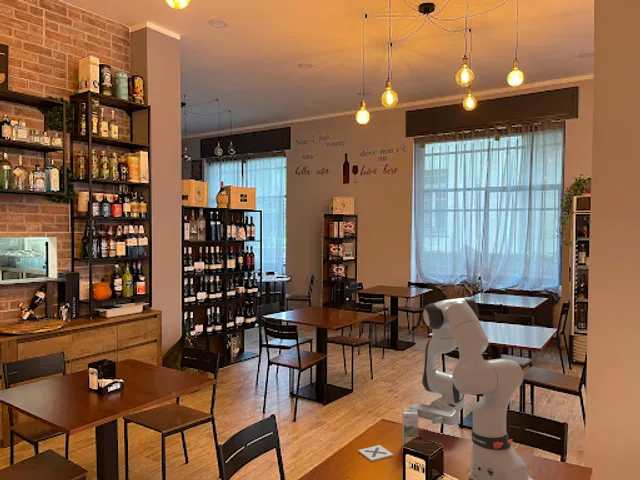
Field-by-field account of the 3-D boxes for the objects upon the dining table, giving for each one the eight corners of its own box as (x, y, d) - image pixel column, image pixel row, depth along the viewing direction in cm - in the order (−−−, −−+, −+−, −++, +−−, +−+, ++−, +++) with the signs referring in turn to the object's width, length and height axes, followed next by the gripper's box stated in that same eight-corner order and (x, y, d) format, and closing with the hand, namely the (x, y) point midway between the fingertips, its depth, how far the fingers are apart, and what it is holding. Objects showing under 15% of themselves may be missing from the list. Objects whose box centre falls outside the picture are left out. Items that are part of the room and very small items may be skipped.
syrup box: (417, 444, 196) (416, 408, 196) (418, 451, 190) (418, 413, 190) (403, 444, 196) (402, 408, 196) (404, 450, 191) (403, 413, 191)
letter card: (393, 455, 186) (393, 454, 186) (371, 461, 182) (371, 459, 182) (379, 446, 195) (379, 444, 195) (358, 451, 191) (358, 449, 191)
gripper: (418, 397, 218) (401, 406, 207) (461, 407, 204) (445, 416, 194) (419, 412, 218) (401, 421, 207) (462, 422, 204) (446, 432, 194)
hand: (423, 419), depth 200 cm, fingers open, 8 cm apart
